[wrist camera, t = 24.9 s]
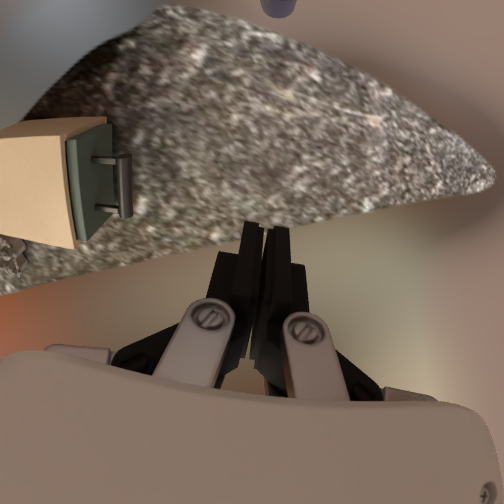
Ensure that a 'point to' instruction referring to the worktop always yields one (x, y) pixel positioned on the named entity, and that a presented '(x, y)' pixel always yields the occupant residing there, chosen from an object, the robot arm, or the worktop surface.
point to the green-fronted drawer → (97, 180)
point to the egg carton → (12, 255)
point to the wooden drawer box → (39, 180)
